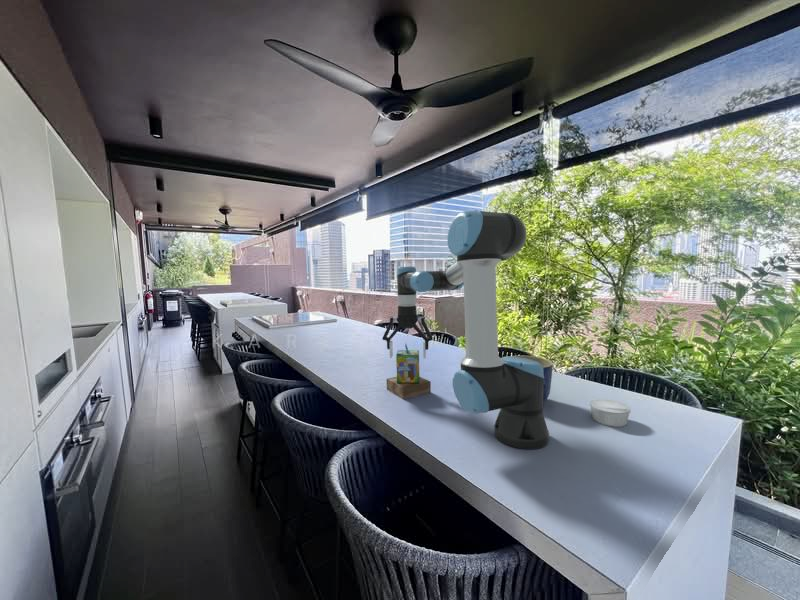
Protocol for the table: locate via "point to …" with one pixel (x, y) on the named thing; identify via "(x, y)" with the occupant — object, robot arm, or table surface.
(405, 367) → the chalk box
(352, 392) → the table surface
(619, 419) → the ramekin
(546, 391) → the planter
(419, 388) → the walnut base block
